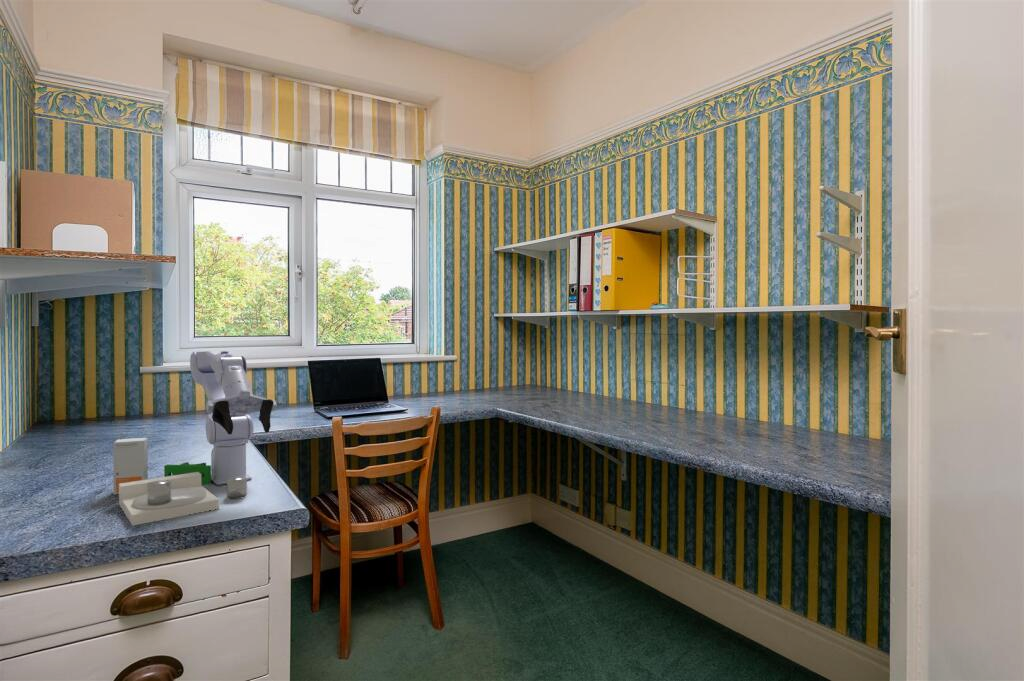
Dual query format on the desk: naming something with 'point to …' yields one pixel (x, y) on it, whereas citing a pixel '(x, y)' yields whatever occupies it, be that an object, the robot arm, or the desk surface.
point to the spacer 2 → (236, 487)
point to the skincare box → (129, 461)
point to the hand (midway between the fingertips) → (249, 430)
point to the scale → (184, 501)
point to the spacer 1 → (159, 492)
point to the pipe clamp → (190, 470)
